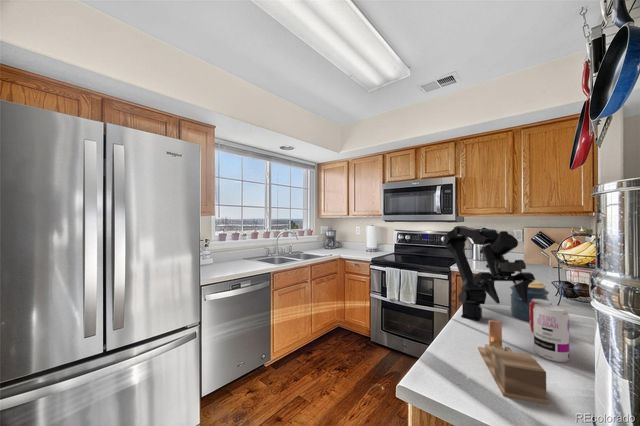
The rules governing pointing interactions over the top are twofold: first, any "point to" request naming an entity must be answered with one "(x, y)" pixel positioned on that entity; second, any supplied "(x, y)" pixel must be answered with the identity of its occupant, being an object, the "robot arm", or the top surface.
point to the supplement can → (551, 332)
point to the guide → (516, 374)
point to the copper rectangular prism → (495, 335)
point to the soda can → (532, 305)
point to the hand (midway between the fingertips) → (512, 303)
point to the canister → (534, 292)
